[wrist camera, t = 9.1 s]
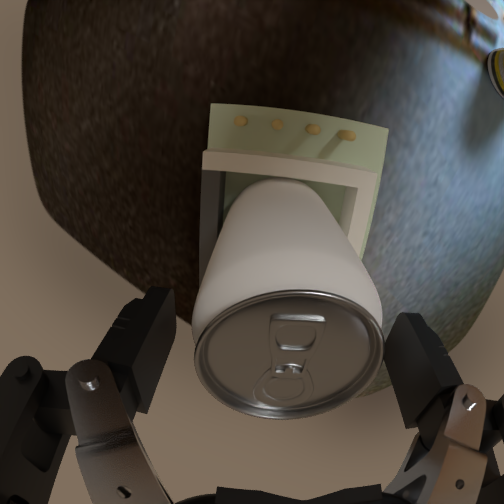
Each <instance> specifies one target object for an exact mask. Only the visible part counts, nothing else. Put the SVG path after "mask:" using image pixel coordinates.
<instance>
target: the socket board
mask: <svg viewBox="0 0 504 504" xmlns="http://www.w3.org/2000/svg"><path fill="white" fill-rule="evenodd" d="M388 130H389V129H387V128H383V127H379V126H375V125H371V124H366V123H362V122H358V121H353V120H348V119H343V118H338V117H333V116H327V115H321V114H315V113H309V112H302V111H295V110H288V109H279V108H270V107H260V106H249V105H234V104H213V103H211V109H210V121H209V134H208V149H207V150H205V151H203V160H202V180H201V204H200V242H199V289H200V286H201V283H202V280H203V277H204V275H205V272H206V269H207V266H208V264H209V261H210V258H211V256H212V253H213V250H214V248H215V245H216V242H217V240H218V237H219V235H220V232H221V230H222V227H223V224H224V222H225V219H226V217H227V215H228V212H229V210H230V208H231V206H232V204H233V202H234V200H235V199H236V198H237V196H238V195H239V194H240V193H241V192H242V191H243V190H244V189H245V188H246V187H248V186H249V185H251V184H253V183H254V182H256V181H259V180H262V179H265V178H270V177H287V178H292V179H295V180H298V181H300V182H302V183H304V184H306V185H307V186H309V187H310V188H311V189H313V190H314V191H315V192H316V193H317V194H318V195H319V197H320V198H321V199H322V201H323V202H324V203H325V205H326V206H327V208H328V209H329V211H330V212H331V214H332V215H333V217H334V218H335V220H336V221H337V223H338V224H339V226H340V227H341V229H342V231H343V232H344V234H345V235H346V237H347V239H348V240H349V242H350V243H351V245H352V247H353V248H354V250H355V252H356V253H357V255H358V257H359V258H360V260H361V261H362V257H363V253H364V250H365V246H366V242H367V238H368V234H369V230H370V226H371V221H372V217H373V213H374V208H375V204H376V199H377V194H378V189H379V184H380V179H381V174H382V168H383V162H384V157H385V150H386V144H387V137H388Z"/></svg>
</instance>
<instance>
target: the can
mask: <svg viewBox="0 0 504 504" xmlns="http://www.w3.org/2000/svg"><path fill="white" fill-rule="evenodd" d="M381 326H382V307H381V302H380V299H379V296H378V293H377V290H376V288H375V286H374V284H373V282H372V280H371V278H370V276H369V274H368V272H367V270H366V269H365V267H364V265H363V263H362V262H361V260H360V258H359V257H358V255H357V253H356V252H355V250H354V248H353V247H352V245H351V243H350V242H349V240H348V239H347V237H346V235H345V234H344V232H343V231H342V229H341V227H340V226H339V224H338V223H337V221H336V220H335V218H334V217H333V215H332V214H331V212H330V211H329V209H328V208H327V206H326V205H325V203H324V202H323V201H322V199H321V198H320V197H319V195H318V194H317V193H316V192H315V191H314V190H313V189H311V188H310V187H309V186H307V185H306V184H304V183H302V182H300V181H298V180H295V179H292V178H287V177H270V178H265V179H262V180H259V181H256V182H254V183H253V184H251V185H249V186H248V187H246V188H245V189H244V190H243V191H242V192H241V193H240V194H239V195H238V196H237V198H236V199H235V200H234V202H233V204H232V206H231V208H230V210H229V212H228V215H227V217H226V219H225V222H224V224H223V227H222V230H221V232H220V235H219V237H218V240H217V242H216V245H215V248H214V250H213V253H212V256H211V258H210V261H209V264H208V266H207V269H206V272H205V275H204V277H203V280H202V283H201V286H200V289H199V292H198V295H197V298H196V302H195V305H194V309H193V315H192V334H193V339H194V343H195V346H196V348H195V353H194V363H195V369H196V373H197V375H198V377H199V379H200V381H201V383H202V385H203V386H204V387H205V389H206V390H207V391H208V392H209V393H210V394H211V395H212V396H213V397H214V398H215V399H217V400H218V401H220V402H221V403H222V404H224V405H226V406H228V407H229V408H231V409H233V410H236V411H238V412H241V413H244V414H247V415H250V416H254V417H259V418H265V419H278V420H289V419H300V418H307V417H312V416H316V415H319V414H323V413H325V412H329V411H331V410H333V409H336V408H338V407H340V406H342V405H344V404H346V403H347V402H349V401H351V400H352V399H354V398H355V397H356V396H358V395H359V394H360V393H361V392H362V391H364V390H365V389H366V388H367V387H368V386H369V384H370V383H371V382H372V381H373V379H374V378H375V377H376V375H377V373H378V372H379V370H380V368H381V365H382V362H383V359H384V354H385V341H384V336H383V333H382V330H381Z"/></svg>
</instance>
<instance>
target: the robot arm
mask: <svg viewBox="0 0 504 504" xmlns="http://www.w3.org/2000/svg"><path fill="white" fill-rule="evenodd" d="M175 334H176V312H175V297H174V291H173V289H168V288H161V287H155V286H151V287H150V288H149V290H148V291H147V293H146V295H145V296H144V298H143V299H138V298H135V299H134V300H132V301H131V302H129V303H128V304H126V305H125V306H124V307H123V309H122V310H121V312H120V313H119V315H118V318H116V320H115V321H114V323H113V324H112V327H110V329H109V331H108V332H107V334H106V336H105V337H104V339H103V340H102V342H101V343H100V345H99V346H98V348H97V350H96V352H95V353H94V355H93V356H92V358H91V359H87V360H82V361H80V362H77V363H76V364H74V365H73V366H72V367H71V368H70V369H69V371H54V370H43V368H42V366H41V364H40V363H39V361H38V360H37V359H35V358H34V357H30V356H21V357H18V358H16V359H14V360H13V361H11V363H9V364H8V366H7V367H6V369H5V370H4V372H3V373H2V375H1V376H0V504H48V501H49V498H50V495H51V491H52V488H53V485H54V482H55V479H56V475H57V473H58V469H59V466H60V464H61V461H62V458H63V455H64V453H65V450H66V447H67V445H68V442H69V439H70V437H71V435H76V436H77V438H78V442H79V445H78V446H76V448H75V451H76V457H77V461H78V464H79V467H80V470H81V473H82V476H83V479H84V482H85V485H86V487H87V490H88V493H89V495H90V498H91V500H92V503H93V504H174V502H173V500H172V499H171V497H170V495H169V494H168V492H167V490H166V488H165V487H164V485H163V483H162V481H161V480H160V478H159V476H158V474H157V472H156V471H155V469H154V467H153V465H152V463H151V461H150V459H149V457H148V455H147V453H146V451H145V449H144V447H143V444H142V442H141V440H140V438H139V436H138V433H137V431H136V429H135V426H134V424H133V419H134V416H135V413H136V411H137V412H141V413H145V414H147V413H148V410H149V407H150V404H151V401H152V398H153V396H154V393H155V390H156V387H157V384H158V382H159V379H160V376H161V374H162V371H163V368H164V365H165V363H166V360H167V358H168V355H169V352H170V350H171V347H172V344H173V342H174V339H175ZM384 361H385V364H386V367H387V370H388V373H389V376H390V379H391V382H392V385H393V388H394V391H395V394H396V397H397V401H398V404H399V407H400V410H401V414H402V417H403V421H404V424H405V428H406V429H409V428H415V427H418V429H419V432H418V433H417V434H416V435H415V437H414V439H413V442H412V444H411V446H410V449H409V451H408V453H407V455H406V457H405V459H404V461H403V463H402V465H401V467H400V469H399V471H398V473H397V475H396V476H395V478H394V479H393V480H392V482H391V483H390V484H389V485H388V486H387V487H386V488H385V490H384V491H383V492H382V490H381V484H377V485H371V486H363V487H356V488H347V489H343V490H340V491H337V492H334V493H330V494H327V495H324V496H321V497H317V498H313V499H310V500H297V499H292V498H288V497H283V496H279V495H275V494H271V493H267V492H263V491H257V490H244V489H234V488H224V487H217V491H216V494H205V495H199V496H195V497H191V498H187V499H185V500H182V501H179V502H177V503H175V504H504V474H503V475H502V476H500V472H499V469H498V465H497V461H496V458H495V454H494V451H493V447H494V446H495V445H496V444H497V443H498V442H500V441H501V440H502V439H503V442H504V394H503V396H502V397H501V398H500V399H499V400H498V401H493V400H487V399H485V397H484V395H483V393H482V392H481V391H480V390H479V389H478V388H477V387H475V386H473V385H470V384H464V383H463V381H462V379H461V377H460V375H459V373H458V371H457V369H456V367H455V366H454V363H453V362H452V360H451V358H450V356H448V352H447V350H446V349H445V348H444V345H443V343H442V341H441V340H440V338H439V336H438V335H437V334H436V333H435V332H434V331H433V330H432V329H431V328H430V327H428V326H427V324H426V322H425V321H424V319H423V317H422V316H421V314H419V313H403V312H402V313H400V314H399V315H398V316H397V318H396V321H395V323H394V325H393V327H392V329H391V331H390V333H389V336H388V338H387V340H386V342H385V354H384Z"/></svg>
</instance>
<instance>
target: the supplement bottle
mask: <svg viewBox="0 0 504 504" xmlns="http://www.w3.org/2000/svg"><path fill="white" fill-rule="evenodd" d="M488 71H489V75H490V78H491V81H492V83H493V85H494V87H495V89H496V90H497V92H498V93H499V94H500V95H501V96H502V97H503V98H504V48H499V49H495V50H493V51H492V52H491V53H490V55H489V57H488Z"/></svg>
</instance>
